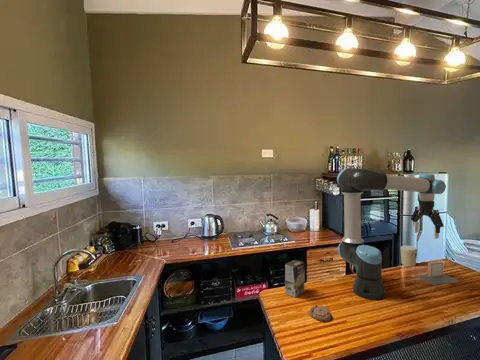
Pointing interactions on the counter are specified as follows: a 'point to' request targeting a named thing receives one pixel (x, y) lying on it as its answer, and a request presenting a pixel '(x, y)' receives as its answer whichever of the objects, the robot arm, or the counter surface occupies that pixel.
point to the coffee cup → (408, 255)
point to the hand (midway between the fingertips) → (425, 235)
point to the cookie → (320, 313)
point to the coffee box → (294, 278)
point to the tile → (435, 269)
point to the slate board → (437, 279)
